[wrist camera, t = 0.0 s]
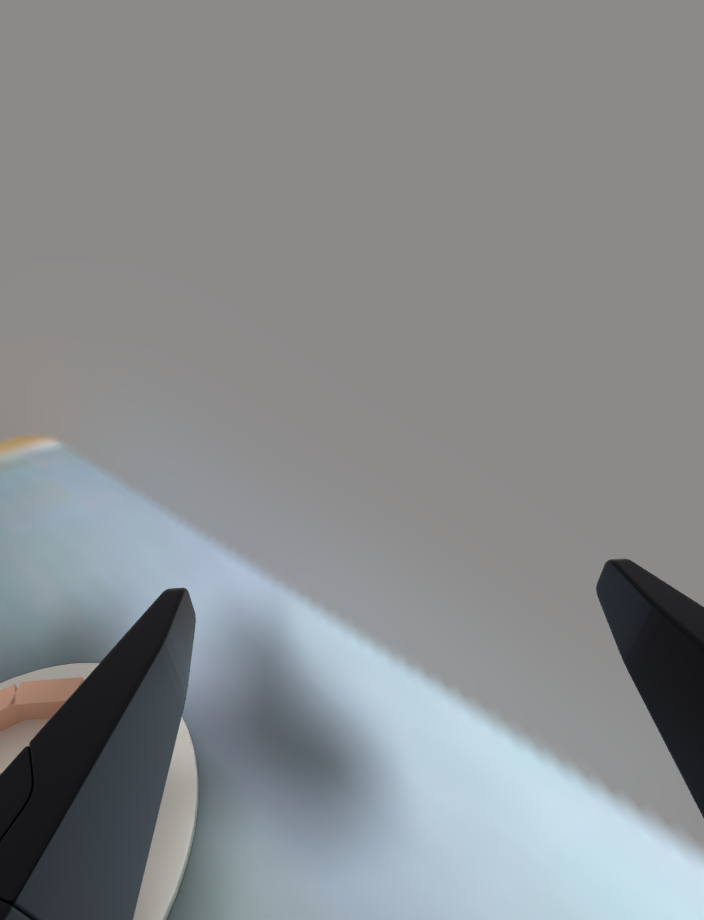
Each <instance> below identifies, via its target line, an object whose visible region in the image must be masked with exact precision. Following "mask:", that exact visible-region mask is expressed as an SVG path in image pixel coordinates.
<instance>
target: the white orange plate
mask: <svg viewBox="0 0 704 920" xmlns="http://www.w3.org/2000/svg"><path fill="white" fill-rule="evenodd" d="M98 665H99V663H74V664H66V665H58V666H53V667H49V668H44V669H40V670H36V671H32V672H29V673H26V674H23V675H20V676H17V677H14V678H12V679H9V680H7V681H4V682H2V683H0V774H1V773H2V772H3V771H4V770H5V769H6V768H7V767H8V765H9V764H10V763H11V762H12V761H13V760H14V759H15V758H16V756H17V755H18V754H19V753H20V752H21V751H22V750H23V749H24V747H26V746H29V743H30V741H31V740H32V739H33V738H34V736H35V735H36V734H37V733H38V732H39V731H40V730H41V729H42V727H43V726H44V725H45V724H46V723H47V722H48V721H49V720H50V718H51V717H52V716H53V715H54V714H55V713H56V712H57V711H58V710H59V708H60V707H61V706H62V705H63V704H64V703H65V702H66V701H67V699H68V698H69V697H70V696H71V695H72V694H73V693H74V692H75V690H76V689H77V688H78V687H79V686H80V685H81V684H82V683H83V681H84V680H85V679H86V678H87V677H88V676H89V675H90V674H91V672H92V671H93V670H94V669H95V668H96V667H97V666H98ZM198 803H199V775H198V768H197V760H196V754H195V750H194V747H193V743H192V740H191V736H190V733H189V731H188V729H187V726H186V724H185V722H184V720H183V718H182V717H181V721H180V726H179V730H178V734H177V738H176V742H175V747H174V751H173V755H172V759H171V763H170V767H169V772H168V776H167V780H166V784H165V788H164V792H163V797H162V801H161V805H160V809H159V813H158V817H157V822H156V826H155V830H154V834H153V838H152V843H151V847H150V851H149V855H148V859H147V863H146V868H145V872H144V876H143V880H142V884H141V888H140V893H139V897H138V901H137V905H136V909H135V913H134V918H133V920H167V917H168V915H169V913H170V910H171V908H172V906H173V903H174V901H175V899H176V896H177V894H178V891H179V888H180V885H181V882H182V879H183V876H184V873H185V870H186V867H187V863H188V860H189V856H190V852H191V847H192V843H193V838H194V834H195V829H196V820H197V812H198Z"/></svg>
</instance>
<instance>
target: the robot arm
mask: <svg viewBox="0 0 704 920" xmlns="http://www.w3.org/2000/svg"><path fill="white" fill-rule="evenodd" d="M596 590H597V596H598V598H599V601H600V604H601V606H602V609H603V611H604V614H605V616H606V619H607V622H608V624H609V627H610V629H611V632H612V634H613V637H614V639H615V642H616V644H617V647H618V650H619V652H620V654H621V656H622V659H623V661H624V664H625V666H626V668H627V670H628V672H629V674H630V676H631V677H632V680H633V681H634V683H635V686H636V687H637V689H638V691H639V693H640V695H641V697H642V699H643V701H644V703H645V705H646V707H647V709H648V711H649V713H650V715H651V717H652V719H653V720H654V722H655V724H656V726H657V728H658V730H659V732H660V734H661V736H662V738H663V740H664V742H665V744H666V746H667V748H668V750H669V752H670V754H671V756H672V758H673V759H674V762H675V763H676V765H677V767H678V769H679V771H680V773H681V775H682V777H683V779H684V781H685V783H686V785H687V787H688V789H689V791H690V793H691V795H692V796H693V798H694V800H695V802H696V804H697V806H698V808H699V810H700V812H701V814H702V816H703V818H704V607H702V606H701V605H699V604H698V603H697V602H695V601H693V600H692V599H690V598H689V597H687V596H686V595H684V594H682V593H681V592H679V591H678V590H676V589H675V588H673V587H672V586H670V585H668V584H667V583H665V582H664V581H662V580H661V579H659V578H657V577H656V576H654V575H653V574H651V573H650V572H648V571H647V570H645V569H643V568H642V567H640V566H639V565H637V564H636V563H634V562H632V561H631V560H628V559H612V560H608V561H607V562H606V563H605V565H604V568H603V570H602V573H601V575H600V578H599V580H598V583H597V587H596ZM195 623H196V617H195V611H194V608H193V605H192V602H191V599H190V595H189V592H188V590H187V589H186V588H173V589H167V590H165V591H164V592H163V593H162V594H161V595H160V596H159V597H158V598H157V600H156V601H155V602H154V603H153V604H152V605H151V606H150V607H149V608H148V610H147V611H146V612H145V613H144V614H143V615H142V616H141V617H140V619H139V620H138V621H137V622H136V623H135V624H134V625H133V626H132V628H131V629H130V630H129V631H128V632H127V633H126V634H125V635H124V637H123V638H122V639H121V640H120V641H119V642H118V643H117V644H116V646H115V647H114V648H113V649H112V650H111V651H110V652H109V653H108V655H107V656H106V657H105V658H104V659H103V660H102V661H101V662H100V663H99V665H98V666H97V667H96V668H95V669H94V670H93V671H92V672H91V674H90V675H89V676H88V677H87V678H86V679H85V680H84V681H83V683H82V684H81V685H80V686H79V687H78V688H77V689H76V690H75V692H74V693H73V694H72V695H71V696H70V697H69V698H68V699H67V701H66V702H65V703H64V704H63V705H62V706H61V707H60V708H59V710H58V711H57V712H56V713H55V714H54V715H53V716H52V717H51V718H50V720H49V721H48V722H47V723H46V724H45V725H44V726H43V727H42V729H41V730H40V731H39V732H38V733H37V734H36V735H35V736H34V738H33V739H32V740H31V741H30V743H29V746H26V747H24V749H23V750H22V751H21V752H20V753H19V754H18V755H17V756H16V758H15V759H14V760H13V761H12V762H11V763H10V764H9V765H8V767H7V768H6V769H5V770H4V771H3V772H2V773H1V774H0V920H133V918H134V913H135V909H136V905H137V901H138V897H139V893H140V888H141V884H142V880H143V876H144V872H145V868H146V863H147V859H148V855H149V851H150V847H151V843H152V838H153V834H154V830H155V826H156V822H157V817H158V813H159V809H160V805H161V801H162V797H163V792H164V788H165V784H166V780H167V776H168V772H169V767H170V763H171V759H172V755H173V751H174V747H175V742H176V738H177V734H178V730H179V726H180V721H181V717H182V713H183V709H184V704H185V700H186V694H187V687H188V680H189V672H190V664H191V656H192V648H193V640H194V632H195Z"/></svg>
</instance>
